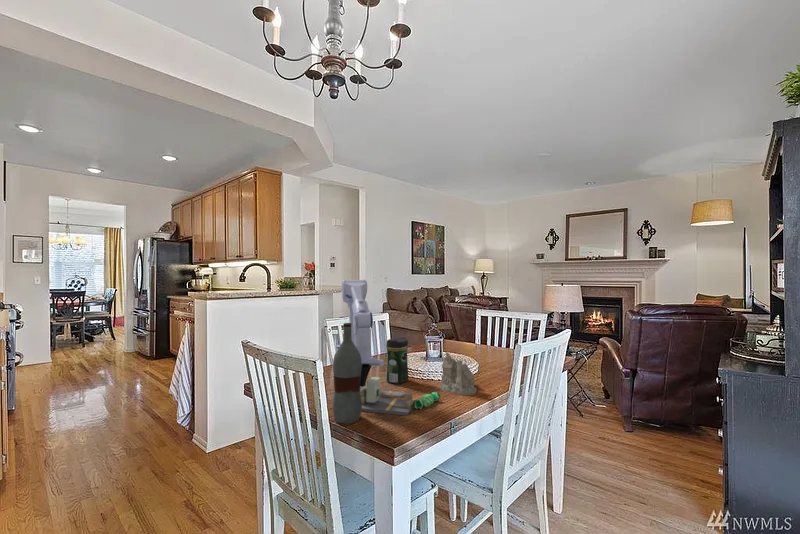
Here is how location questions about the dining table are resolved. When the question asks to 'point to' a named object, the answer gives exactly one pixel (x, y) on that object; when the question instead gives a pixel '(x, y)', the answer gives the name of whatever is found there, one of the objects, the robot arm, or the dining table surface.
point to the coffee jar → (397, 360)
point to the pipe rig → (388, 402)
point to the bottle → (347, 380)
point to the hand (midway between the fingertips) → (362, 385)
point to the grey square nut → (373, 389)
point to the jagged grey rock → (457, 377)
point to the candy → (426, 400)
